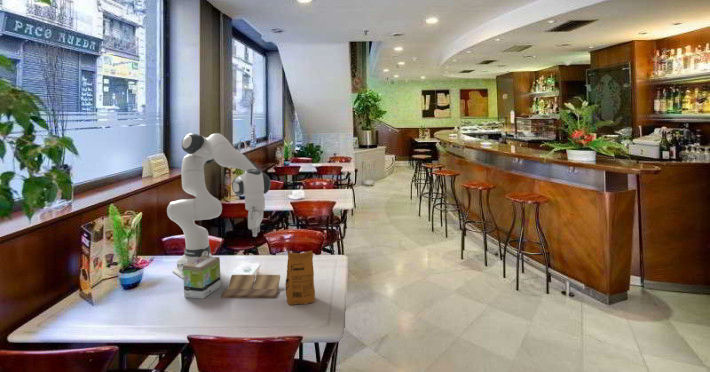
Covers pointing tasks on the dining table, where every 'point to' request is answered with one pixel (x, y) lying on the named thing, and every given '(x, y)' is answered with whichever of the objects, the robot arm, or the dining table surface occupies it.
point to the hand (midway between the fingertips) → (256, 234)
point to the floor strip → (249, 293)
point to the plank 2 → (267, 282)
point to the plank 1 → (241, 282)
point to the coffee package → (300, 278)
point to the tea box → (201, 276)
